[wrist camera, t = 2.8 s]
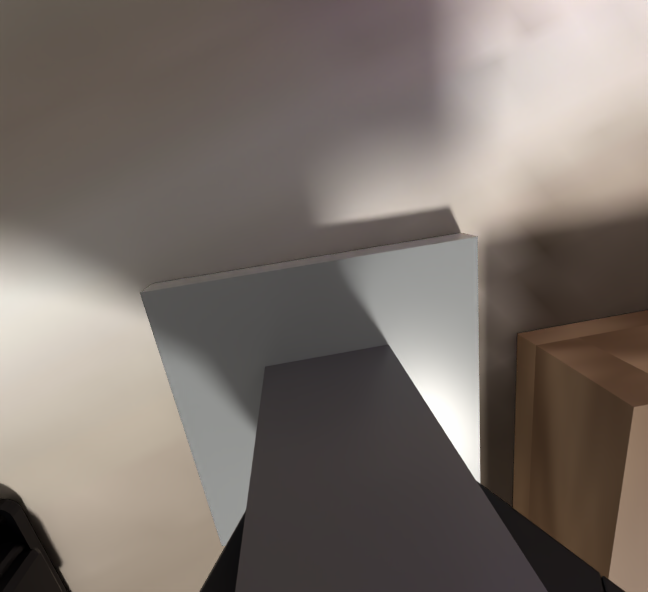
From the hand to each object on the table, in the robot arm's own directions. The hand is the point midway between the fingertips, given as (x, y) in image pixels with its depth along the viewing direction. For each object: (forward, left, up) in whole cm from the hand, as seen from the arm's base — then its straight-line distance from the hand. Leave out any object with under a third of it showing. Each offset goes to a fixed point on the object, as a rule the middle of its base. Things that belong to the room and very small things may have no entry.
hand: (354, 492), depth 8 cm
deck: (0, 0, -4) cm, 4 cm away
